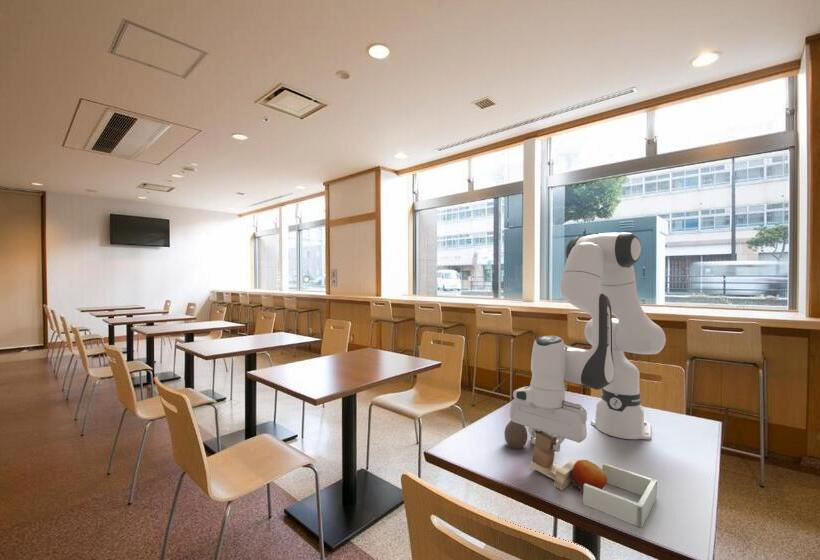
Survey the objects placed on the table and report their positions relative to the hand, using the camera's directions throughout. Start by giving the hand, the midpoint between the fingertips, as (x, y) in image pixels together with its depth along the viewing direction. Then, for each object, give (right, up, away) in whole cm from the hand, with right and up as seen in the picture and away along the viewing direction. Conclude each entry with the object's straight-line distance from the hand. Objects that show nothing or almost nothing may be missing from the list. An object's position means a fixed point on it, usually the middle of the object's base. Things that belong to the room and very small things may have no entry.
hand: (545, 447), depth 104 cm
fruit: (+8, -7, -8) cm, 13 cm away
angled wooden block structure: (+1, -6, -2) cm, 7 cm away
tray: (+13, -7, -13) cm, 20 cm away
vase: (-4, -7, +16) cm, 18 cm away
